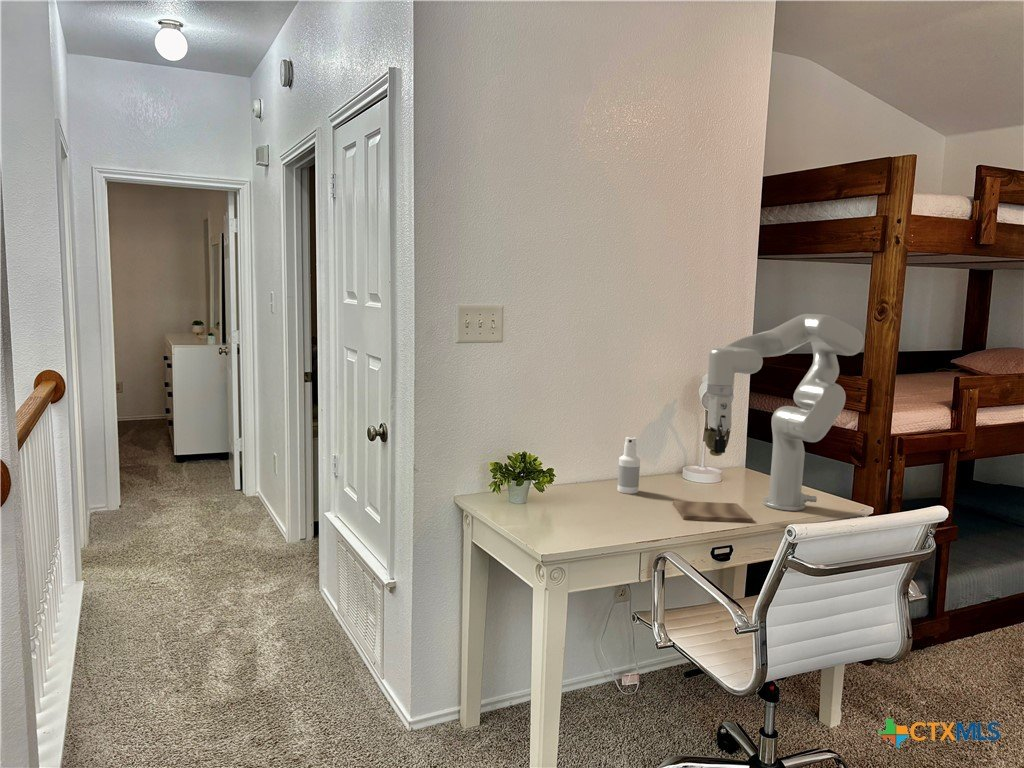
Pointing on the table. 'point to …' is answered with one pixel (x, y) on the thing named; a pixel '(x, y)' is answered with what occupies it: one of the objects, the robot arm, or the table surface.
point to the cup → (710, 438)
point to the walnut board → (712, 511)
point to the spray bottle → (629, 468)
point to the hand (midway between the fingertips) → (716, 449)
